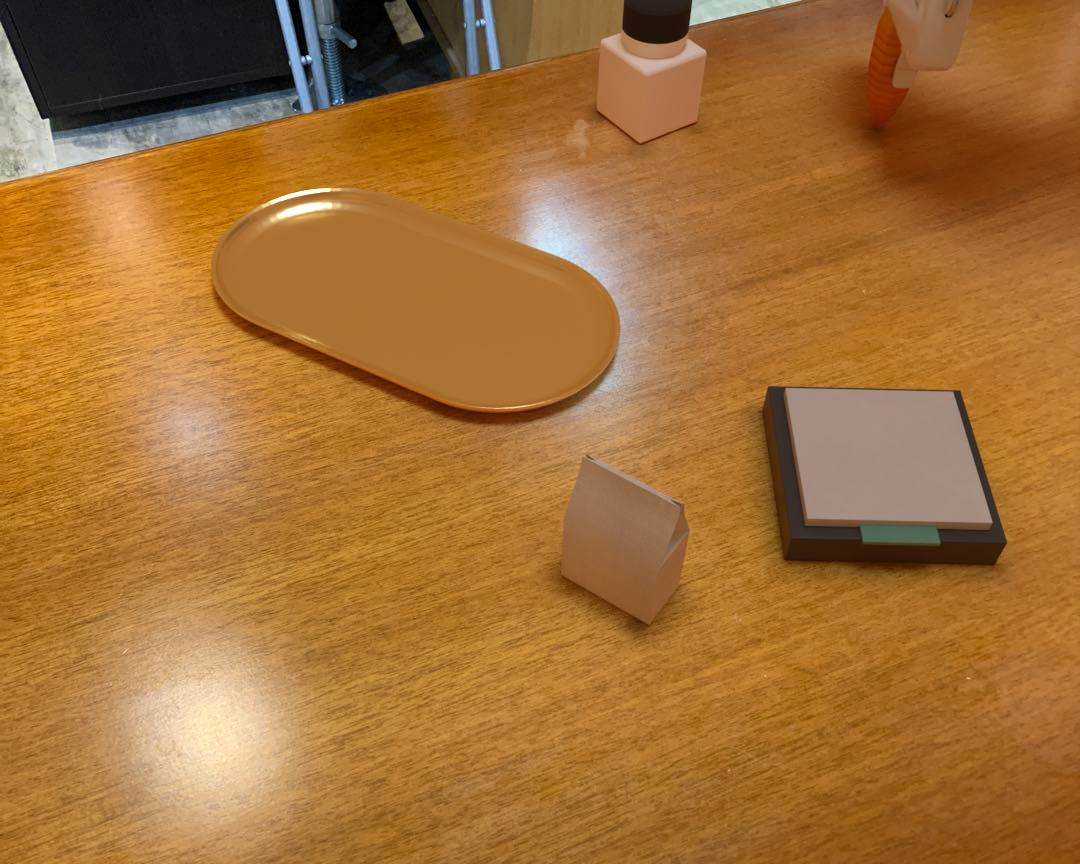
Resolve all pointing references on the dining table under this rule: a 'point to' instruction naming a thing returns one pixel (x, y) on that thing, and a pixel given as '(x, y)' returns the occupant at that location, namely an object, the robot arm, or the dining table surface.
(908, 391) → the kitchen scale
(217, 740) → the dining table surface
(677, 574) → the brown paper bag
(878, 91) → the carrot
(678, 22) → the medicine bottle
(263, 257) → the serving platter
